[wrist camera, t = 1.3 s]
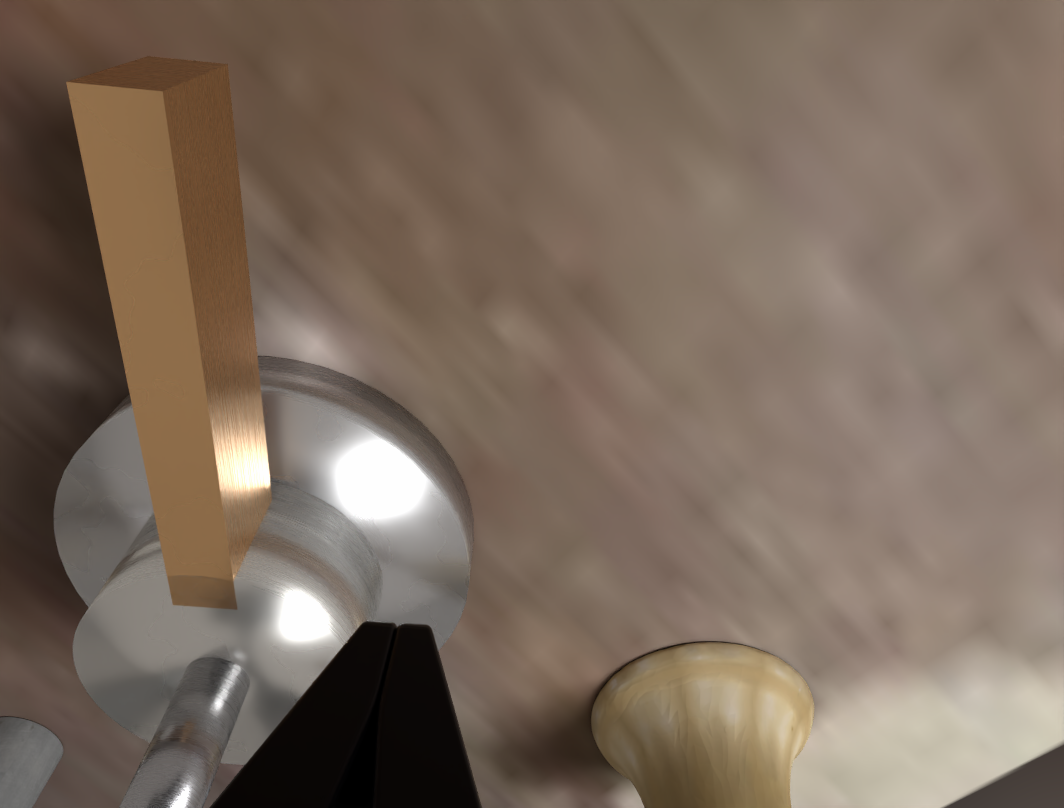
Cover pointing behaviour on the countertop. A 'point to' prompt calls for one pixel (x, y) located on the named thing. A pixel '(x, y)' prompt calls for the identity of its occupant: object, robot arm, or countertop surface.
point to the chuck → (199, 452)
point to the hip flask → (25, 761)
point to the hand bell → (705, 726)
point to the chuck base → (309, 465)
